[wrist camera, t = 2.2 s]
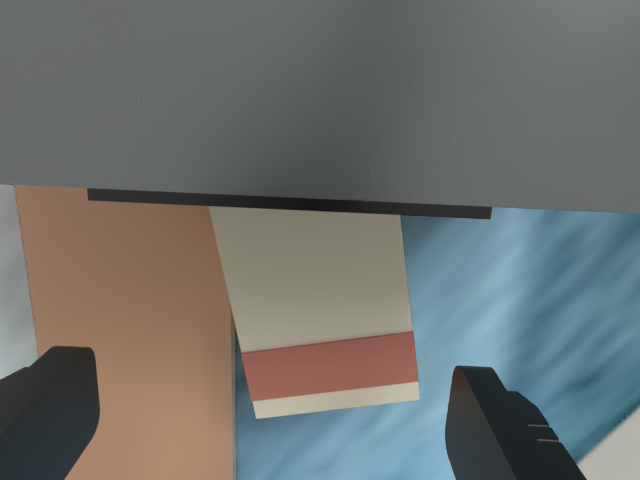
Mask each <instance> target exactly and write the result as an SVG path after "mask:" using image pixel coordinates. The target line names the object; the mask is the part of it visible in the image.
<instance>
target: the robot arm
mask: <svg viewBox="0 0 640 480" xmlns="http://www.w3.org/2000/svg"><path fill="white" fill-rule="evenodd" d="M99 417H100V402H99V391H98V380H97V370H96V359H95V354H94V351H93V350H92V349H91V348H90V347H75V346H53V347H51V348H50V349H49V350H48V351H46V352H45V353H44V354H43V355H42V356H41V357H40V358H39V359H38V360H37V361H36V362H34V363H33V364H32V365H31V366H30V367H24V368H22V369H20V370H19V371H17V372H15V373H13V374H11V375H9V376H7V377H5V378H3V379H1V380H0V480H65V478H66V477H67V475H68V474H69V472H70V471H71V469H72V468H73V466H74V465H75V463H76V462H77V460H78V459H79V458H80V456H81V455H82V453H83V452H84V450H85V449H86V447H87V446H88V444H89V443H90V441H91V440H92V438H93V437H94V435H95V432H96V430H97V427H98V423H99ZM445 441H446V449H447V454H448V458H449V460H450V463H451V466H452V469H453V472H454V475H455V478H456V480H587V479H586V478H585V477H584V475H583V474H582V472H581V471H580V469H579V468H578V466H577V465H576V463H575V462H574V460H573V459H572V457H571V456H570V454H569V453H568V452H567V450H566V449H565V447H564V446H563V444H562V443H559V438H558V437H557V435H556V434H555V433H554V431H553V430H552V428H549V424H548V422H547V421H546V419H545V418H544V416H543V415H542V413H541V412H540V411H539V409H538V408H537V406H535V405H534V404H533V403H531V402H530V401H529V400H527V399H526V398H525V397H524V396H522V395H521V394H520V393H518V392H516V391H507V390H506V389H505V387H504V386H503V384H502V382H501V381H500V379H499V377H498V376H497V374H496V373H495V371H494V370H493V368H491V367H476V366H456V367H455V369H454V372H453V377H452V384H451V391H450V398H449V405H448V412H447V419H446V427H445Z"/></svg>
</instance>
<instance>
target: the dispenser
mask: <svg viewBox="0 0 640 480" xmlns="http://www.w3.org/2000/svg"><path fill="white" fill-rule="evenodd" d="M0 184H10V185H31V186H53V187H75V188H87V195H88V201H109V202H130V203H152V204H173V205H195V206H216V207H238V208H259V209H281V210H303V211H324V212H346V213H367V214H389V215H410V216H432V217H453V218H475V219H490V218H491V211H492V207H507V208H529V209H550V210H572V211H594V212H615V213H637V214H640V0H0Z"/></svg>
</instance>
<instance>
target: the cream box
mask: <svg viewBox="0 0 640 480" xmlns="http://www.w3.org/2000/svg"><path fill="white" fill-rule="evenodd" d="M209 210H210V215H211V219H212V224H213V228H214V233H215V237H216V242H217V246H218V250H219V255H220V259H221V264H222V268H223V273H224V277H225V282H226V286H227V290H228V295H229V299H230V304H231V308H232V313H233V317H234V322H235V326H236V331H237V335H238V339H239V344H240V348H241V357H242V362H243V366H244V371H245V375H246V379H247V384H248V388H249V393H250V397H251V401H252V402H253V406H254V411H255V415H256V419H260V418H268V417H277V416H285V415H294V414H303V413H311V412H320V411H328V410H337V409H346V408H354V407H363V406H371V405H380V404H389V403H397V402H406V401H414V400H420V394H419V384H418V382H419V381H418V372H417V362H416V353H415V344H414V335H413V329H412V320H411V310H410V301H409V292H408V283H407V273H406V264H405V255H404V246H403V236H402V227H401V218H400V215H389V214H367V213H346V212H324V211H303V210H281V209H259V208H238V207H216V206H209Z"/></svg>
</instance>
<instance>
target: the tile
mask: <svg viewBox="0 0 640 480" xmlns="http://www.w3.org/2000/svg"><path fill="white" fill-rule="evenodd" d="M14 186H15V193H16V200H17V207H18V214H19V221H20V228H21V235H22V241H23V248H24V255H25V262H26V269H27V276H28V283H29V290H30V297H31V304H32V311H33V318H34V324H35V331H36V338H37V345H38V352H39V358H40V357H41V356H42V355H43V354H44V353H45V352H46V351H48V350H49V349H50V348H51V347H53V346H75V347H90V348H91V349H92V350H93V351H94V354H95V359H96V370H97V380H98V391H99V402H100V417H99V423H98V427H97V430H96V432H95V435H94V437H93V438H92V440H91V441H90V443H89V444H88V446H87V447H86V449H85V450H84V452H83V453H82V455H81V456H80V458H79V459H78V460H77V462H76V463H75V465H74V466H73V468H72V469H71V471H70V472H69V474H68V475H67V477H66V478H65V480H237V468H236V368H235V322H234V317H233V313H232V308H231V304H230V299H229V295H228V290H227V286H226V282H225V277H224V273H223V268H222V264H221V259H220V255H219V250H218V246H217V242H216V237H215V233H214V228H213V224H212V219H211V215H210V210H209V206H195V205H173V204H152V203H130V202H109V201H88V195H87V188H75V187H53V186H31V185H14Z"/></svg>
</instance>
